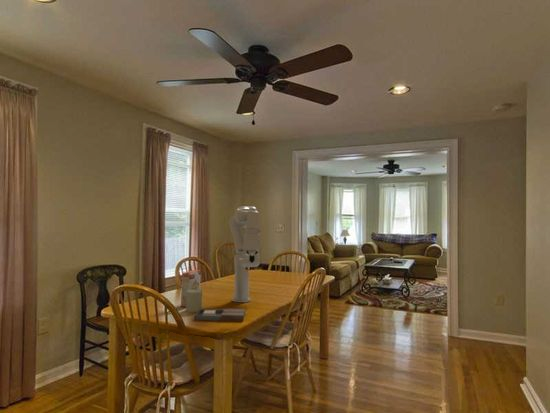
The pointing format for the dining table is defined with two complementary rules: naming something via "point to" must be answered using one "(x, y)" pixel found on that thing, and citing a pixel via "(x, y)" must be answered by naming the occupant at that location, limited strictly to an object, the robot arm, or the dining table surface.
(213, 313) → the tile
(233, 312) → the brown sliding lid
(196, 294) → the can
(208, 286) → the dining table surface
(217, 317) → the box
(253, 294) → the dining table surface
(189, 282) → the cracker box
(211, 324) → the dining table surface
